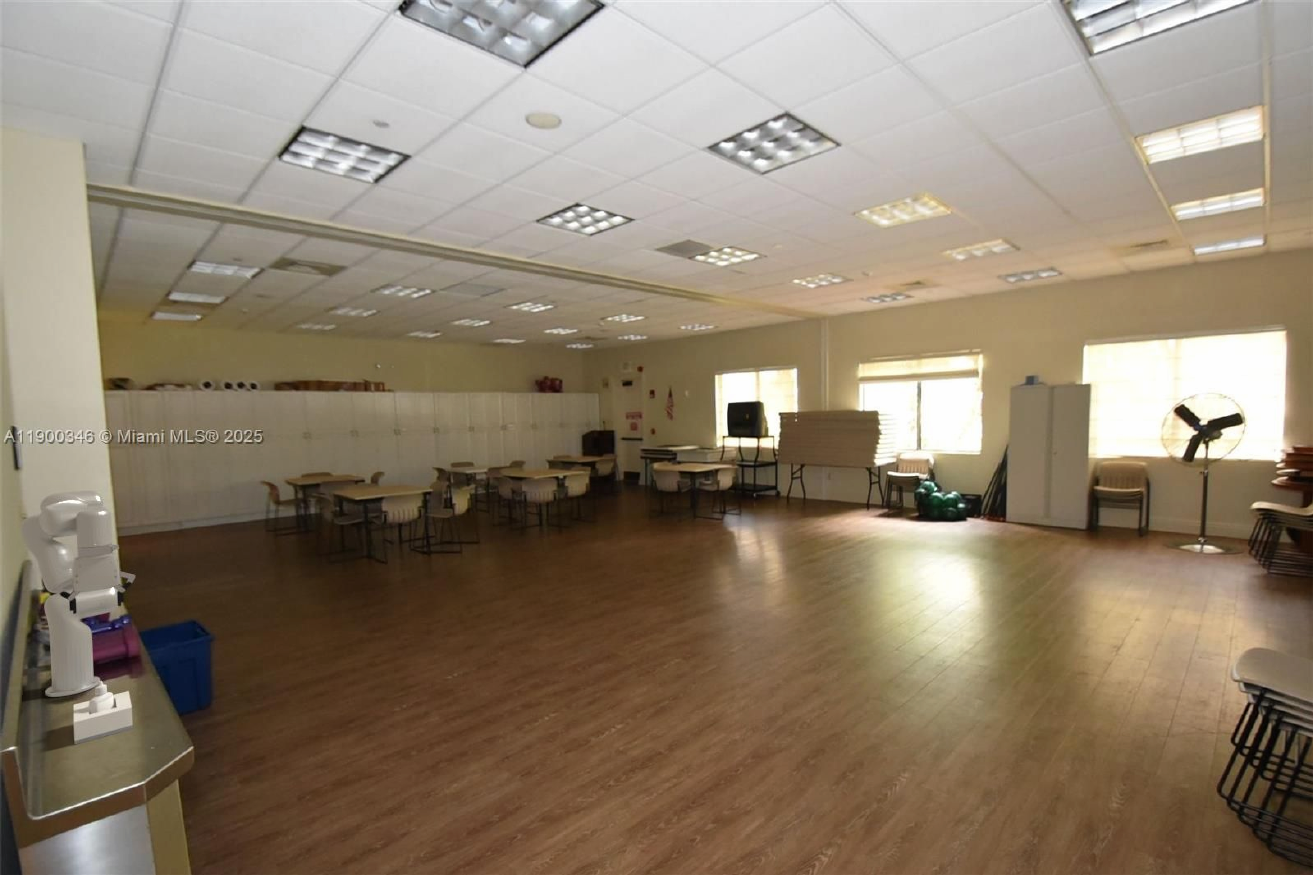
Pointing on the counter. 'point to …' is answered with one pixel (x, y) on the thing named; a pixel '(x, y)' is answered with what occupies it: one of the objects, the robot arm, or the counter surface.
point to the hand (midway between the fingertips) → (97, 608)
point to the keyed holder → (102, 719)
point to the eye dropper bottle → (101, 699)
